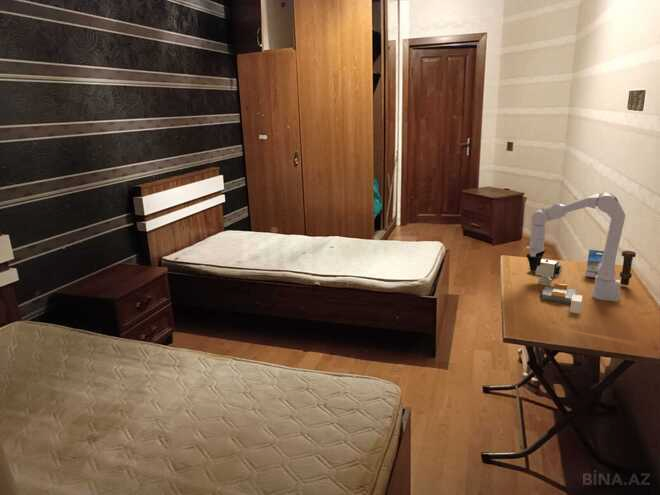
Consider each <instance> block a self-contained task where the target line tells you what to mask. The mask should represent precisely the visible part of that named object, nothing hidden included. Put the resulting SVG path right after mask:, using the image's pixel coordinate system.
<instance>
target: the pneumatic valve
mask: <svg viewBox="0 0 660 495" xmlns="http://www.w3.org/2000/svg"><path fill="white" fill-rule="evenodd" d="M562 267H563V266H562V265H561V264H560V262H559V261H556V260H550V259H548V258H546V259H544V258H542V259H541V263H540V265H539V266H537V269H536V271H532V272H533V275H536V276H540V277H538V280H537V282H538V284H539V285H541V286H545V285H546V286H550V285H552V283H553V279H555V278H556V277H557V276H560V275H561V273H562V270H563V268H562ZM552 278H553V279H552Z"/></svg>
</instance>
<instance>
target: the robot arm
mask: <svg viewBox="0 0 660 495" xmlns="http://www.w3.org/2000/svg"><path fill="white" fill-rule="evenodd" d="M596 207H597V208H598V209H599V210H600V211H601V212H603V213H605V214H607V216H609V218H610V223H609V226H608V231H607V236H606V241H605V245H604V249H603V251H604V253H602V255H603V256H602V260H601V261H600V262H599V264H598V266H597V268H598V274H597V275H596V276H595V278H594V284H593V285H594V286H593V293H592V297H593V298H594V299H597V300H601V301H610V302H619V299H620V298H621V297H620V296H621V292H620V291H621V285H622V284H621V279H620V280H619V279H616V274H617V273H616V270H615V268H616V259H617V258H616V257H617V254H618V250H619V246H620V241H621V236H622V233H623V228H624V225H625V224H624V223H625V219H626V213H625V211H624V209H623V207H622V205H621V203H620V201H619V199H618V197H617V196H615V195H614V194H613V193H611V192H609V191H608V192H607V191H604V192H601V193H596V194H592V195H589V196H587V197H583V198H581V199H578V200H575V201H572V202H569V203H567V204H562V203H556V202H555V203H554V204H552V205H551V206H548V207H546V208H545V207H541V209H537V210H534V212H533V213H532V215H531V218H530V219H531V227H530V235H529V238H530V239H529V246H526V250H528V251H529V252H530V253H527V254H526V259H527V260H528V264H529V267H530V269H529V271H530V272H531V271H532V272H533V271H536V269H537V266H539V265H540V263H541V259H543V256H544V254H545V252H546V250H545V239H546V222H552V221H555V220H558V219H562V218H563V217H564V218H565V216H566V215H567V213H570V212H574V211H577V210H580V209H584V208H590V209H591V208H592V209H597V208H596Z"/></svg>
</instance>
